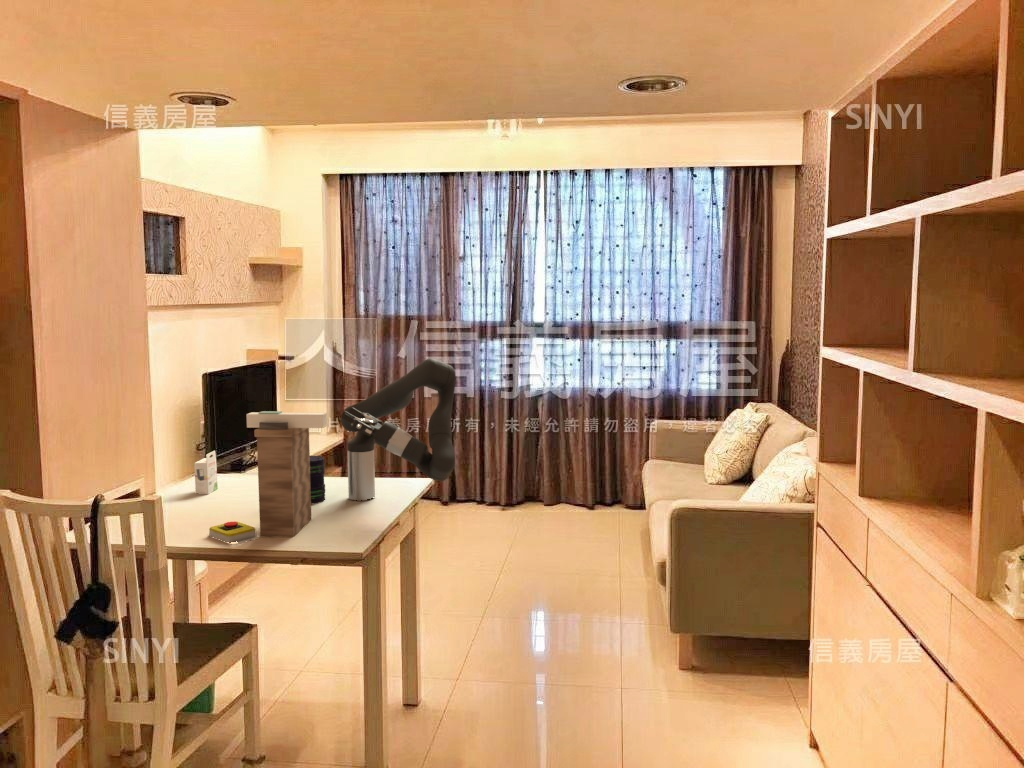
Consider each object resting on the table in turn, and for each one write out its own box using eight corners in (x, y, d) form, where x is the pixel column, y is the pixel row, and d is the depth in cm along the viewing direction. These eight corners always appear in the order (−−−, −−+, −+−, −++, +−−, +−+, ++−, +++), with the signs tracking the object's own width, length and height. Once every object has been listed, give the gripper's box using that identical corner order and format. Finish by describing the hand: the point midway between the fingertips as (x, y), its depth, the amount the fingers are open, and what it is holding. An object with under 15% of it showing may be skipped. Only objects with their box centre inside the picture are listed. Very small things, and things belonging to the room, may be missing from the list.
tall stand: (279, 519, 252) (276, 414, 248) (313, 519, 251) (310, 414, 248) (258, 536, 233) (254, 423, 229) (294, 537, 233) (291, 423, 229)
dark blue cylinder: (293, 504, 271) (292, 461, 270) (300, 497, 281) (298, 455, 279) (322, 503, 271) (321, 461, 270) (328, 496, 281) (327, 455, 280)
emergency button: (233, 516, 241) (260, 525, 232) (233, 530, 242) (261, 539, 232) (204, 522, 234) (232, 532, 225) (205, 537, 235) (232, 547, 225)
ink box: (204, 489, 293) (203, 449, 292) (218, 489, 293) (216, 449, 291) (194, 494, 284) (193, 454, 283) (208, 494, 284) (206, 454, 283)
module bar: (251, 425, 238) (251, 411, 238) (327, 425, 237) (326, 411, 237) (246, 427, 234) (246, 412, 234) (323, 427, 233) (323, 413, 233)
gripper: (403, 424, 241) (357, 398, 241) (394, 432, 227) (345, 404, 227) (392, 445, 242) (346, 419, 242) (382, 454, 228) (333, 426, 228)
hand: (346, 411), depth 235 cm, fingers open, 8 cm apart
